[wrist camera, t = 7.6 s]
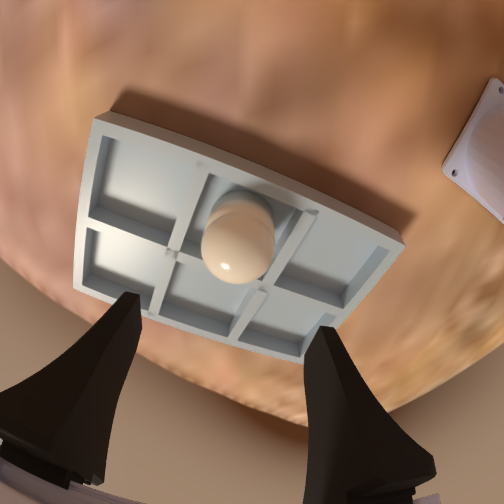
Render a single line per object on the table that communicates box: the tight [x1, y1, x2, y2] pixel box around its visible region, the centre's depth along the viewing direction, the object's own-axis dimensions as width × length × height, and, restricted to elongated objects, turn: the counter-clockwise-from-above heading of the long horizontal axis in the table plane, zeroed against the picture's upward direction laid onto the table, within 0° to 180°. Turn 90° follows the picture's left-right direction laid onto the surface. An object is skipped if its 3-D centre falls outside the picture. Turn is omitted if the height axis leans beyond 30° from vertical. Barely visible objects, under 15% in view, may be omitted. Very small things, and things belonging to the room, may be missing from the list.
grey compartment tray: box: [73, 111, 406, 364], centre depth 21 cm, size 20×14×2 cm
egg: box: [201, 190, 275, 284], centre depth 17 cm, size 4×4×5 cm
